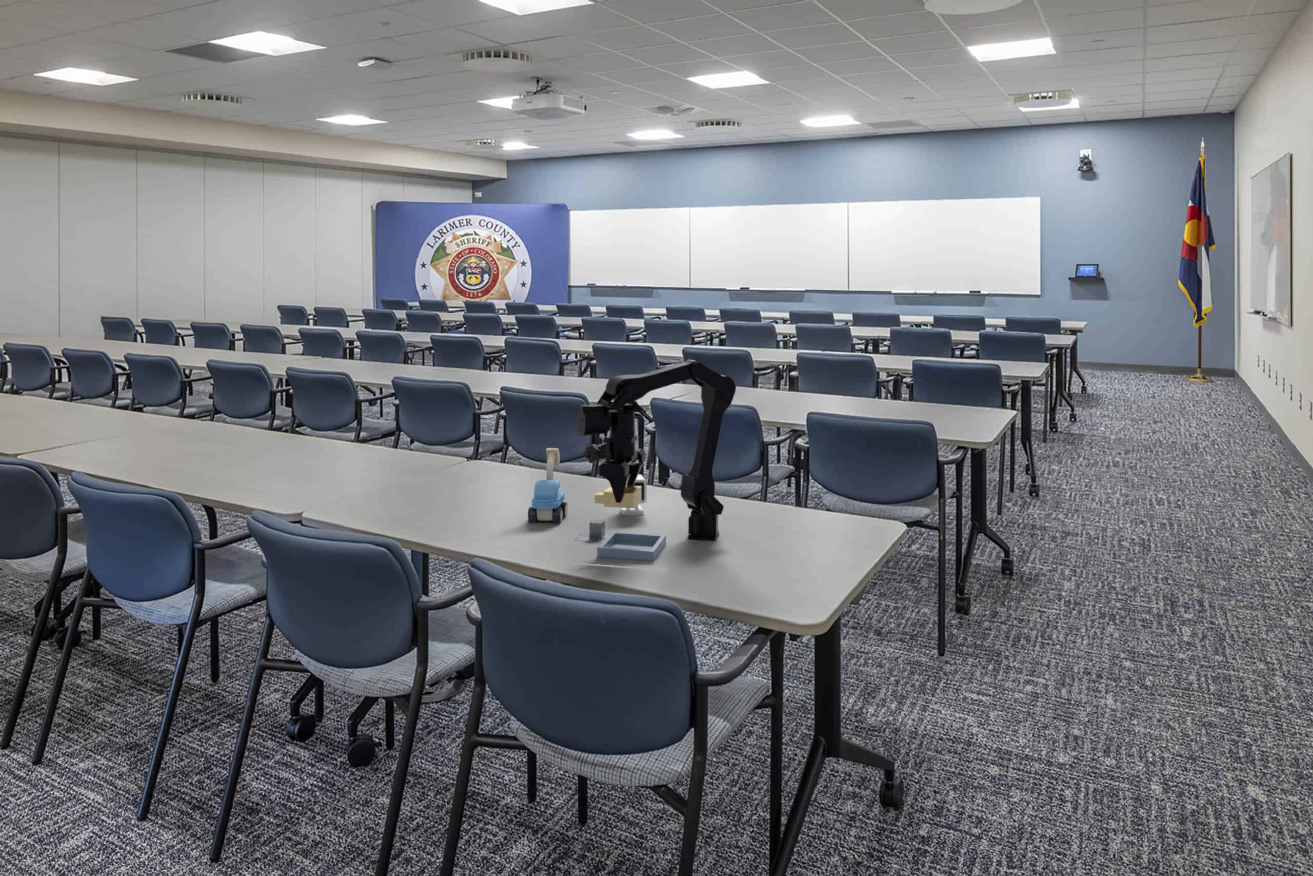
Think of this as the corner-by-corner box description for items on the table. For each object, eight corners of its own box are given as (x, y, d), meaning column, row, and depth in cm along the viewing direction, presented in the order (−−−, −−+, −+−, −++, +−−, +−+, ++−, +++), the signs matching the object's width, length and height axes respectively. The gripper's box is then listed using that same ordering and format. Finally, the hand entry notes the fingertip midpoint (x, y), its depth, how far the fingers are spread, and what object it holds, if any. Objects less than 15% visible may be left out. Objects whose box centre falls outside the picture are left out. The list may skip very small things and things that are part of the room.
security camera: (622, 517, 242) (622, 480, 240) (618, 510, 249) (618, 474, 247) (646, 516, 243) (646, 479, 241) (641, 509, 250) (641, 473, 248)
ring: (641, 500, 217) (641, 486, 216) (633, 508, 210) (633, 493, 209) (600, 498, 219) (600, 483, 219) (591, 505, 213) (590, 490, 212)
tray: (665, 545, 218) (666, 535, 218) (653, 562, 206) (653, 551, 205) (612, 541, 221) (612, 531, 221) (597, 558, 209) (597, 547, 208)
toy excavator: (572, 509, 250) (571, 446, 247) (560, 526, 234) (559, 459, 231) (541, 508, 251) (540, 446, 248) (526, 525, 235) (525, 459, 231)
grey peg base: (620, 533, 228) (620, 517, 227) (610, 544, 219) (610, 527, 218) (584, 531, 230) (584, 515, 229) (573, 541, 221) (573, 525, 220)
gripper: (601, 423, 222) (602, 487, 225) (575, 438, 204) (576, 506, 207) (646, 425, 219) (646, 489, 222) (623, 440, 201) (624, 509, 204)
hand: (623, 498), depth 214 cm, fingers closed on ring, 7 cm apart
